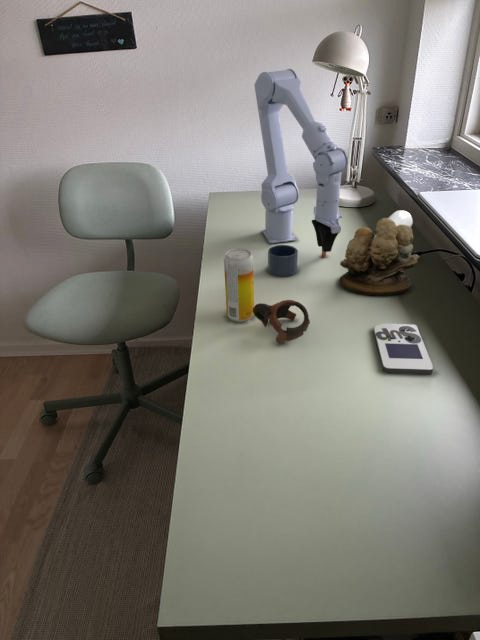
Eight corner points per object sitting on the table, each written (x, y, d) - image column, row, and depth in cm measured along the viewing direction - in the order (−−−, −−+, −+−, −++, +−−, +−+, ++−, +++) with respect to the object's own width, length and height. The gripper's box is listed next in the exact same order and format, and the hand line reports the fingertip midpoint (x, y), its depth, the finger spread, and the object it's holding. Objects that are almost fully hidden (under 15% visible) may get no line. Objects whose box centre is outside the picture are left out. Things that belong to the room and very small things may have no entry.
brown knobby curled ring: (307, 320, 106) (316, 301, 99) (297, 358, 101) (306, 341, 94) (254, 304, 106) (260, 284, 99) (243, 341, 102) (247, 323, 95)
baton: (320, 256, 132) (322, 228, 128) (325, 255, 132) (327, 227, 128) (322, 258, 131) (324, 230, 127) (326, 257, 131) (328, 229, 127)
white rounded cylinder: (381, 257, 135) (400, 235, 145) (399, 244, 130) (418, 223, 140) (365, 238, 135) (385, 218, 145) (383, 225, 130) (402, 205, 140)
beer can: (258, 311, 109) (257, 250, 101) (247, 325, 104) (245, 262, 96) (233, 306, 111) (231, 245, 103) (222, 319, 106) (218, 257, 98)
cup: (265, 265, 128) (265, 246, 125) (292, 262, 129) (292, 243, 126) (272, 278, 122) (272, 258, 119) (300, 275, 123) (301, 255, 120)
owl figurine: (408, 273, 122) (419, 207, 113) (420, 296, 112) (434, 226, 103) (336, 273, 123) (341, 208, 114) (342, 296, 113) (349, 227, 104)
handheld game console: (383, 373, 89) (384, 367, 89) (372, 328, 102) (372, 322, 101) (433, 374, 89) (434, 368, 88) (415, 329, 101) (416, 323, 100)
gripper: (353, 207, 118) (348, 258, 125) (332, 189, 130) (328, 236, 137) (326, 209, 117) (322, 261, 124) (307, 191, 129) (305, 239, 136)
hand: (324, 248), depth 130 cm, fingers open, 3 cm apart
